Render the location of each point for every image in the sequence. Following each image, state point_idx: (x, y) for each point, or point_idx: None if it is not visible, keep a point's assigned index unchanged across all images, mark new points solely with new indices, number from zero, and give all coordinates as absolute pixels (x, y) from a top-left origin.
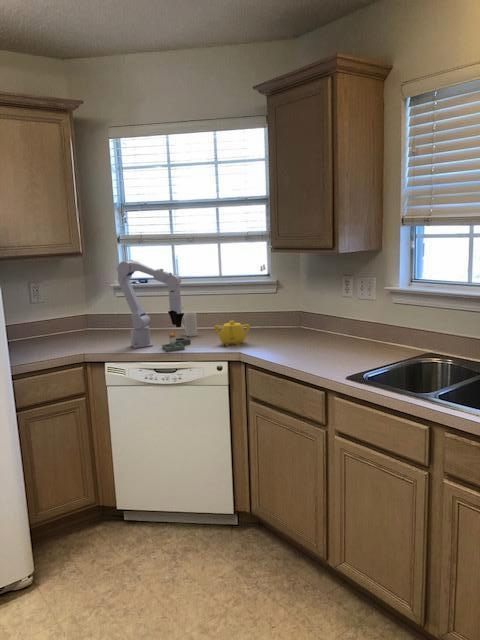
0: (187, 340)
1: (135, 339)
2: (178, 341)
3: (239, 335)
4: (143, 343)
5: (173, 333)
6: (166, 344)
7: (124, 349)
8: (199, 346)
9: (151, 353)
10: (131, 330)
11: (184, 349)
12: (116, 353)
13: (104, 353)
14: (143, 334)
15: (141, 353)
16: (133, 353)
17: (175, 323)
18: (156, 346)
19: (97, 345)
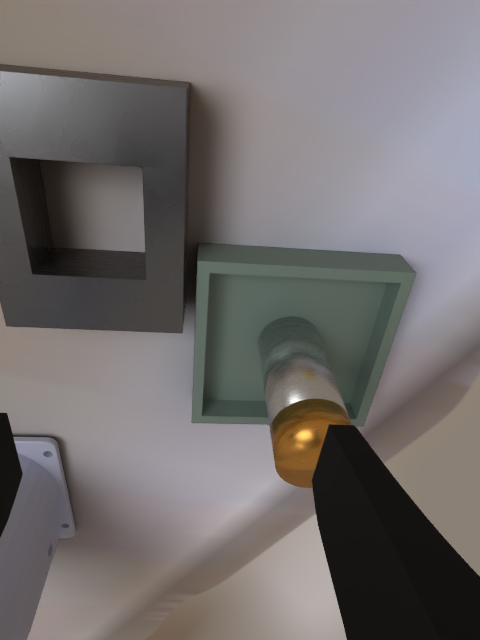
0: (185, 143)
1: (38, 591)
2: (182, 273)
3: None
4: (51, 513)
5: (303, 443)
6: (202, 391)
7: (72, 566)
8: (399, 20)
9: None
10: None
11: (400, 258)
12: (161, 598)
13: (123, 627)
14: (20, 597)
15: (259, 521)
16: (224, 548)
17: (337, 570)
18: (84, 415)
19: None
